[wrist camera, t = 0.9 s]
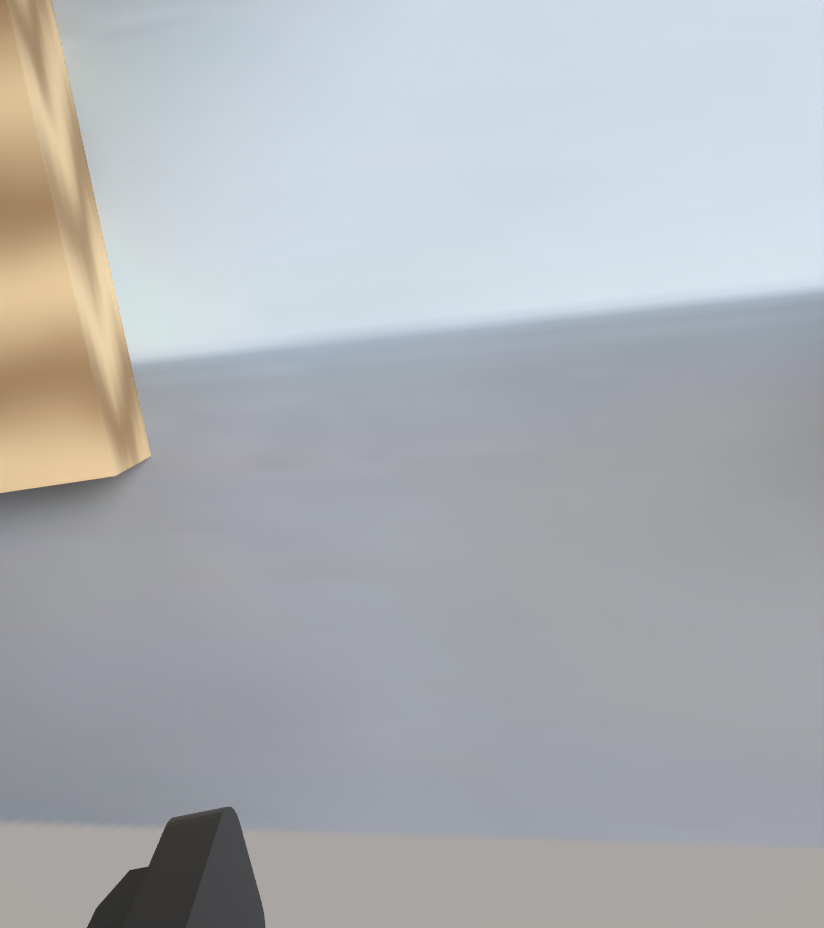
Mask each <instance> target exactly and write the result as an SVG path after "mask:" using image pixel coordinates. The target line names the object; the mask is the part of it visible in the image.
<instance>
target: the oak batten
mask: <svg viewBox="0 0 824 928" xmlns="http://www.w3.org/2000/svg"><path fill="white" fill-rule="evenodd" d="M149 457H151V454H150V450H149V445H148V441H147V436H146V431H145V427H144V422H143V418H142V413H141V408H140V404H139V399H138V395H137V390H136V385H135V381H134V376H133V372H132V367H131V362H130V358H129V353H128V349H127V344H126V339H125V335H124V330H123V326H122V321H121V316H120V312H119V307H118V303H117V298H116V293H115V289H114V284H113V280H112V275H111V270H110V266H109V261H108V257H107V252H106V248H105V243H104V238H103V234H102V229H101V225H100V220H99V215H98V211H97V206H96V202H95V197H94V192H93V188H92V183H91V179H90V174H89V169H88V165H87V160H86V156H85V151H84V146H83V142H82V137H81V133H80V128H79V123H78V119H77V114H76V110H75V105H74V100H73V96H72V91H71V87H70V82H69V77H68V73H67V68H66V64H65V59H64V55H63V50H62V45H61V41H60V36H59V32H58V27H57V22H56V18H55V13H54V9H53V4H52V0H0V493H4V492H11V491H17V490H24V489H31V488H38V487H44V486H51V485H58V484H65V483H72V482H78V481H85V480H92V479H99V478H105V477H112V476H116V475H118V474H120V473H122V472H124V471H125V470H127V469H129V468H131V467H133V466H134V465H136V464H138V463H140V462H142V461H143V460H145V459H147V458H149Z"/></svg>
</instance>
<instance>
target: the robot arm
mask: <svg viewBox="0 0 824 928" xmlns="http://www.w3.org/2000/svg"><path fill="white" fill-rule="evenodd" d="M87 928H265V920H264V912H263V907H262V902H261V899H260V895H259V891H258V888H257V884H256V880H255V877H254V873H253V870H252V866H251V863H250V859H249V855H248V852H247V848H246V844H245V840H244V837H243V833H242V830H241V826H240V822H239V819H238V816H237V814H236V812H235V811H234V809H233V808H232V807H230V806H229V807H224V808H219V809H214V810H209V811H204V812H199V813H194V814H188V815H183V816H178V817H173V818H171V819H170V820H169V821H168V823H167V825H166V827H165V829H164V831H163V834H162V836H161V838H160V841H159V844H158V845H157V848H156V850H155V853H154V855H153V857H152V859H151V862H150V864H149V867H145V868H139V869H134V870H130V871H129V872H128V873H127V874H126V875H125V877H123V879H122V880H121V881H120V882H119V883H118V884H117V885H116V887H115V888H114V889H113V890H112V891H111V892H110V893H109V894H108V896H107V897H106V898H105V899H104V900H103V901H102V902H101V904H100V905H99V906H98V907H97V908H96V910H95V912H94V914H93V917H92V918H91V921H90V923H89V925H88V927H87Z"/></svg>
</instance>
